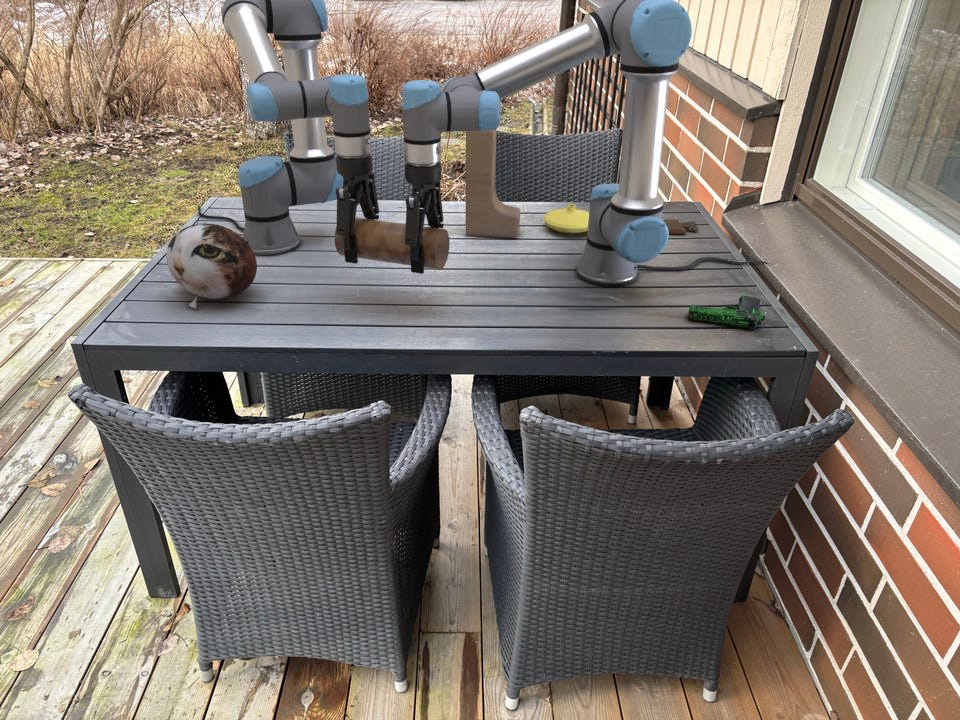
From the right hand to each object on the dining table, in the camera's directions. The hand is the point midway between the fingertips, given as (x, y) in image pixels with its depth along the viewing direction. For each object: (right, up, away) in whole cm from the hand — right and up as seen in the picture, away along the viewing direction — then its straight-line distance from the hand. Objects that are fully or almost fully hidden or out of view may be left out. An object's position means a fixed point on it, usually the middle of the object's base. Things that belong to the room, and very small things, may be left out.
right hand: (425, 264), depth 158 cm
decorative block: (+16, +16, +49) cm, 54 cm away
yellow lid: (+38, +17, +53) cm, 68 cm away
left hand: (-15, +3, +4) cm, 16 cm away
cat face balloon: (-50, -6, +11) cm, 52 cm away
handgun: (+69, -11, +7) cm, 70 cm away
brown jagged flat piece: (+64, +18, +55) cm, 86 cm away
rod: (-7, +1, +2) cm, 8 cm away
